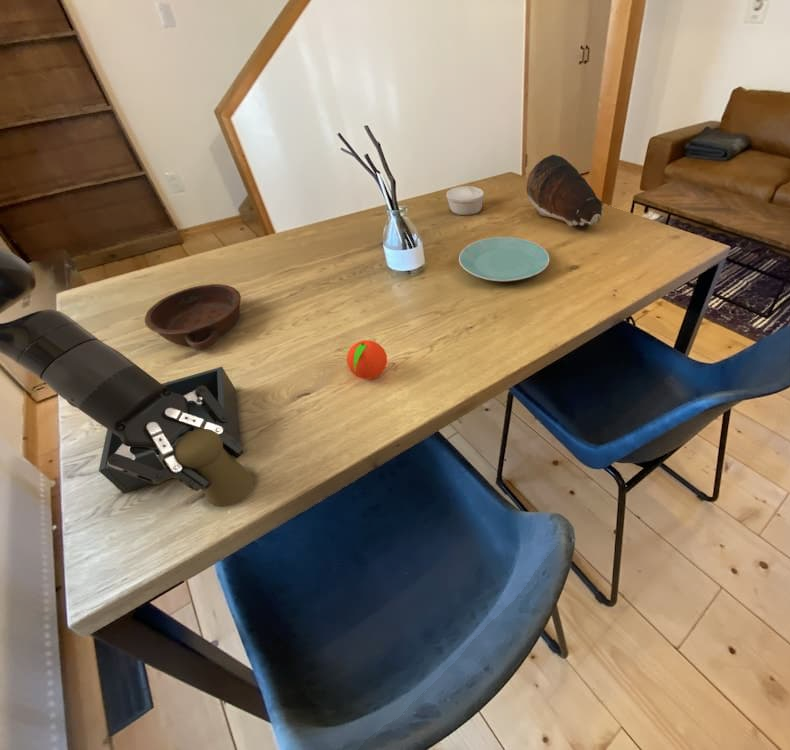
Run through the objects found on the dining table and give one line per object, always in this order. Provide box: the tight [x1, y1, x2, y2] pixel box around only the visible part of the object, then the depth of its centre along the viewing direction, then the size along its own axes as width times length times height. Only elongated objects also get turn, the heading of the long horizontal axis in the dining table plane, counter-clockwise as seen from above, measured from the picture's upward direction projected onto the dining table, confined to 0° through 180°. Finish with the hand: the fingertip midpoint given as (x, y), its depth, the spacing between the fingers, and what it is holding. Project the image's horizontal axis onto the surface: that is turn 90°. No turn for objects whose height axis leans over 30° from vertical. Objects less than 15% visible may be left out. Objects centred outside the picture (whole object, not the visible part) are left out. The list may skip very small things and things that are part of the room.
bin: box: [98, 366, 241, 494], centre depth 68 cm, size 16×16×6 cm
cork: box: [175, 428, 254, 508], centre depth 59 cm, size 6×6×11 cm
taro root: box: [525, 154, 605, 227], centre depth 124 cm, size 15×15×25 cm
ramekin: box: [445, 185, 485, 216], centre depth 133 cm, size 11×11×5 cm
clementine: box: [346, 339, 388, 380], centre depth 77 cm, size 8×7×7 cm
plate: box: [458, 236, 550, 283], centre depth 107 cm, size 22×22×3 cm
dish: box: [144, 283, 242, 351], centre depth 90 cm, size 18×22×5 cm
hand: (224, 470), depth 59 cm, fingers closed on cork, 5 cm apart
